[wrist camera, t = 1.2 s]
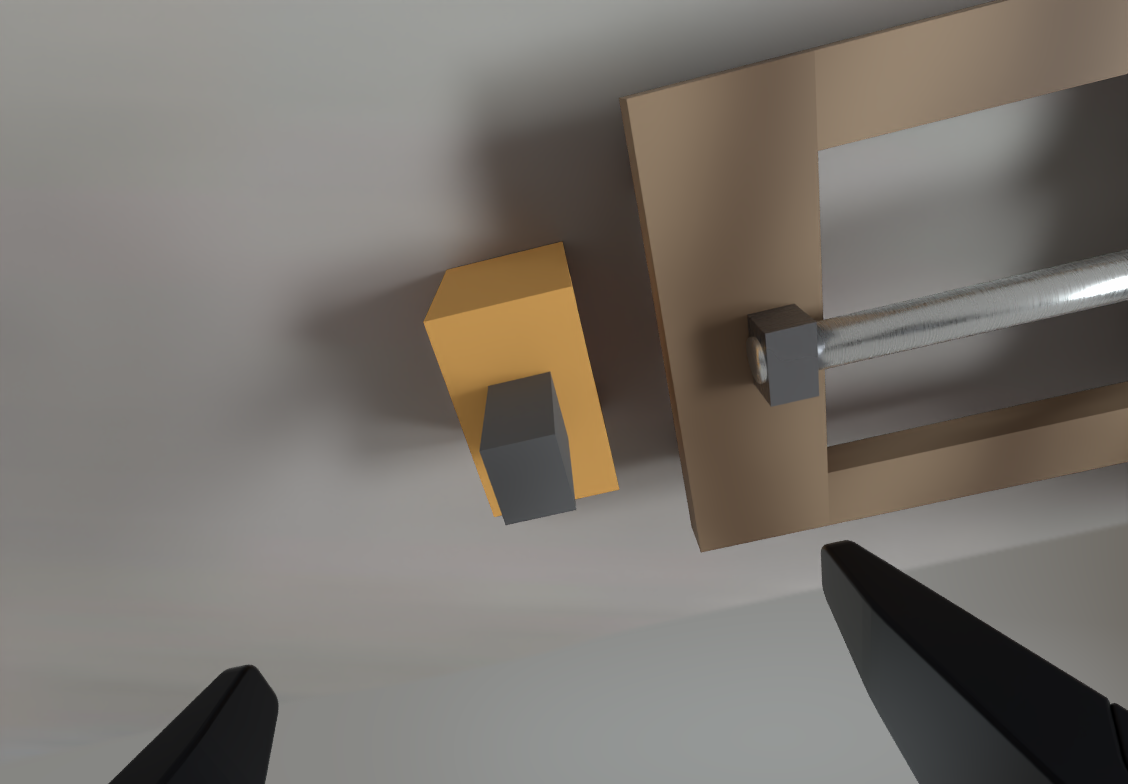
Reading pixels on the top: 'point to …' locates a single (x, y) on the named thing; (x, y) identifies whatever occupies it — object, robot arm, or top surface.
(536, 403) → the yellow block
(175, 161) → the top surface
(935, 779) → the robot arm
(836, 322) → the silver metal rod
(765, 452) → the wooden frame with rod
